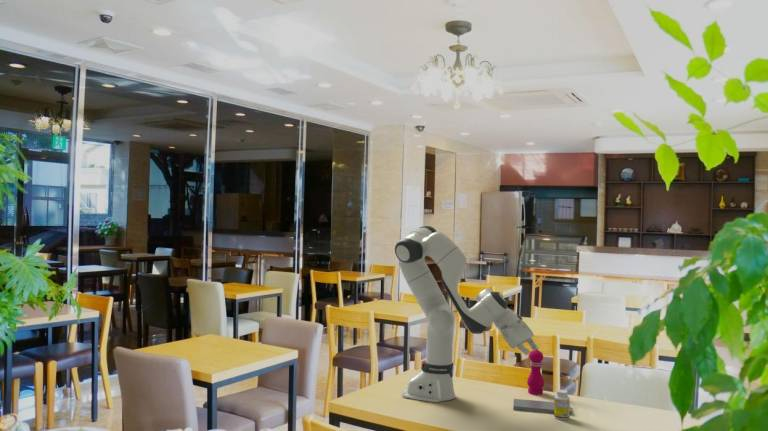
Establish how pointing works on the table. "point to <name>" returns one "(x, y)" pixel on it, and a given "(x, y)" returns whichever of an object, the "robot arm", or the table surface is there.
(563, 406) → the supplement bottle
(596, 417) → the table surface
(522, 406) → the slate board
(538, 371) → the pepper mill
